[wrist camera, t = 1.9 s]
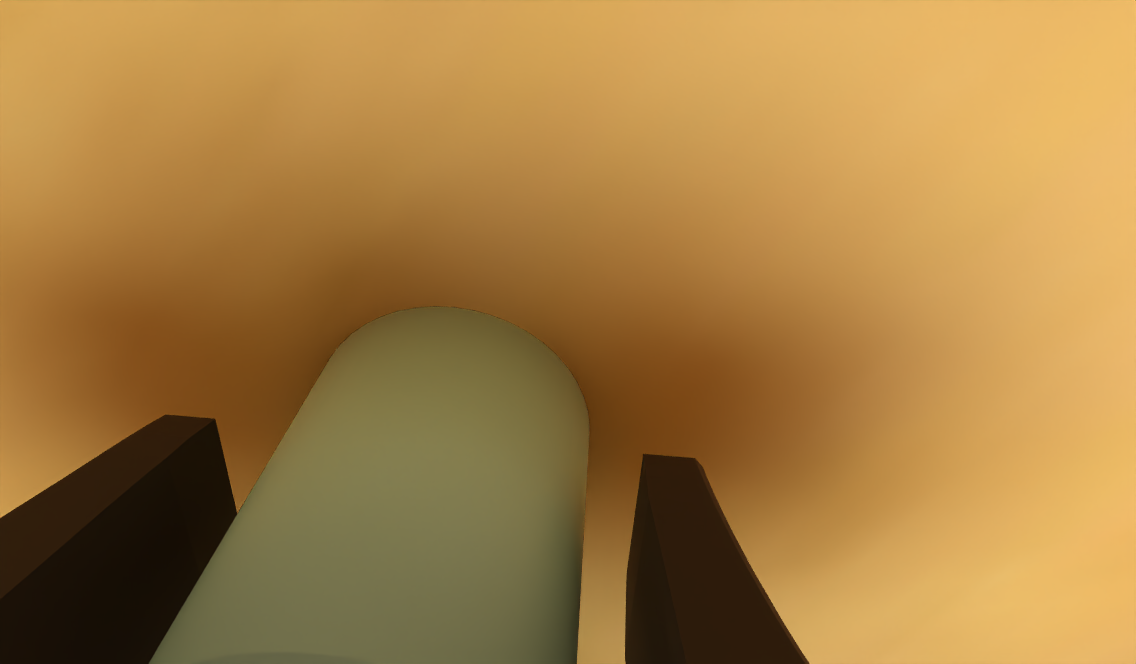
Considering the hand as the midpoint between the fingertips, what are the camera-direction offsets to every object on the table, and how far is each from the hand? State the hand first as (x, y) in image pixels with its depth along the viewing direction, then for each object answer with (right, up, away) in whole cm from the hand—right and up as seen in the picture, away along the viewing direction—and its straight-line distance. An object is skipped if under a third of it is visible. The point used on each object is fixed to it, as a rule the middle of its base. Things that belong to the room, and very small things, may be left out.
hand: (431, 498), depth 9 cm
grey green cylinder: (0, +1, +1) cm, 1 cm away
